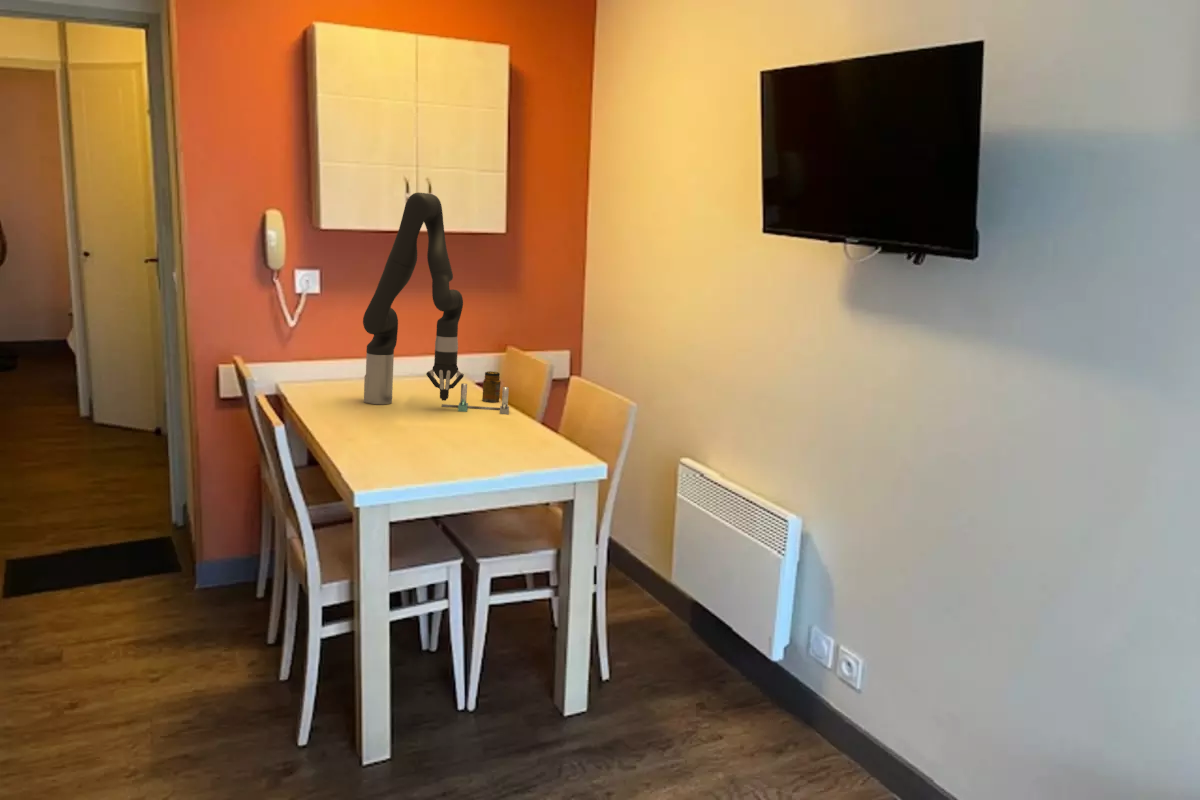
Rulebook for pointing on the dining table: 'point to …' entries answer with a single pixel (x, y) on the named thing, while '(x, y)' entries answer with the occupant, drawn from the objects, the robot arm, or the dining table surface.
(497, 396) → the condiment
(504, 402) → the fixed leg
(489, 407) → the gauge board
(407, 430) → the dining table surface
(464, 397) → the slider leg
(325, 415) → the dining table surface
